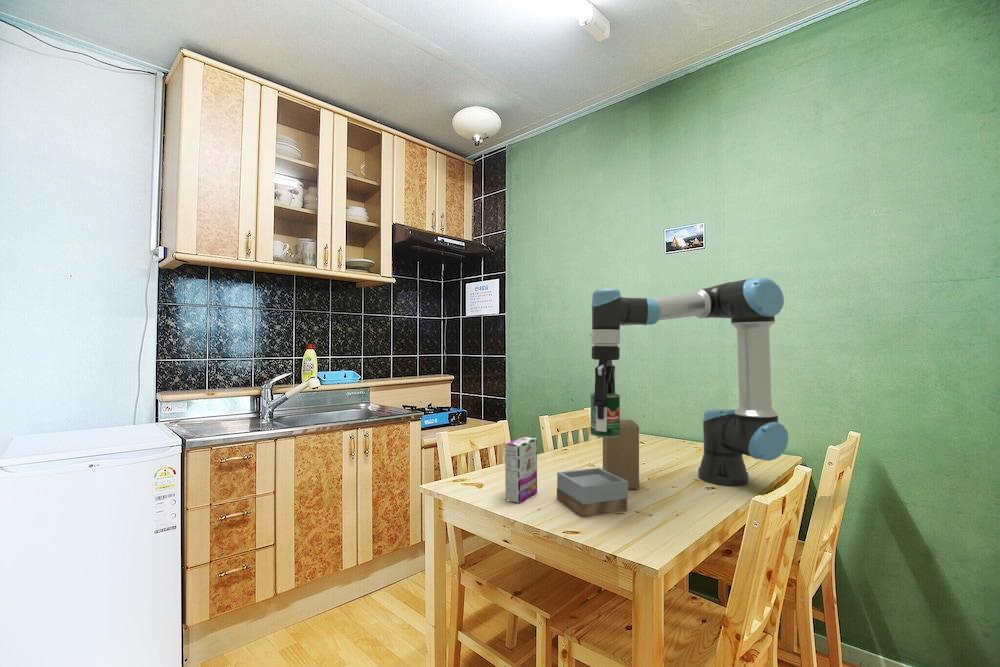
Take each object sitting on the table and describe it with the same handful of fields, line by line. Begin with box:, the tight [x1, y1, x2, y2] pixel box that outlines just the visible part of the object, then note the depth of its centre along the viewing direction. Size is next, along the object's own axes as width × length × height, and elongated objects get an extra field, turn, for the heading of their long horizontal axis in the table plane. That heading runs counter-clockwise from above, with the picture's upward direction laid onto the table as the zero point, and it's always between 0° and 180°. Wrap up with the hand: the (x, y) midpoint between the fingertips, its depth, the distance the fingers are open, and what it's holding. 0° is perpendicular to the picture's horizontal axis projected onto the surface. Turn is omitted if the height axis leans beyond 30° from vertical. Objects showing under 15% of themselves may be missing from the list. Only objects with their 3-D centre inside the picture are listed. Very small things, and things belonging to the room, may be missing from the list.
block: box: [602, 419, 640, 490], centre depth 145 cm, size 10×10×20 cm
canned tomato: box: [590, 392, 621, 438], centre depth 125 cm, size 8×8×11 cm
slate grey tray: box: [556, 467, 629, 504], centre depth 127 cm, size 14×14×4 cm
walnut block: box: [556, 487, 628, 518], centre depth 127 cm, size 14×14×4 cm
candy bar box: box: [504, 436, 538, 504], centre depth 133 cm, size 11×5×16 cm, turn 148°
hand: (604, 428), depth 125 cm, fingers closed on canned tomato, 8 cm apart
